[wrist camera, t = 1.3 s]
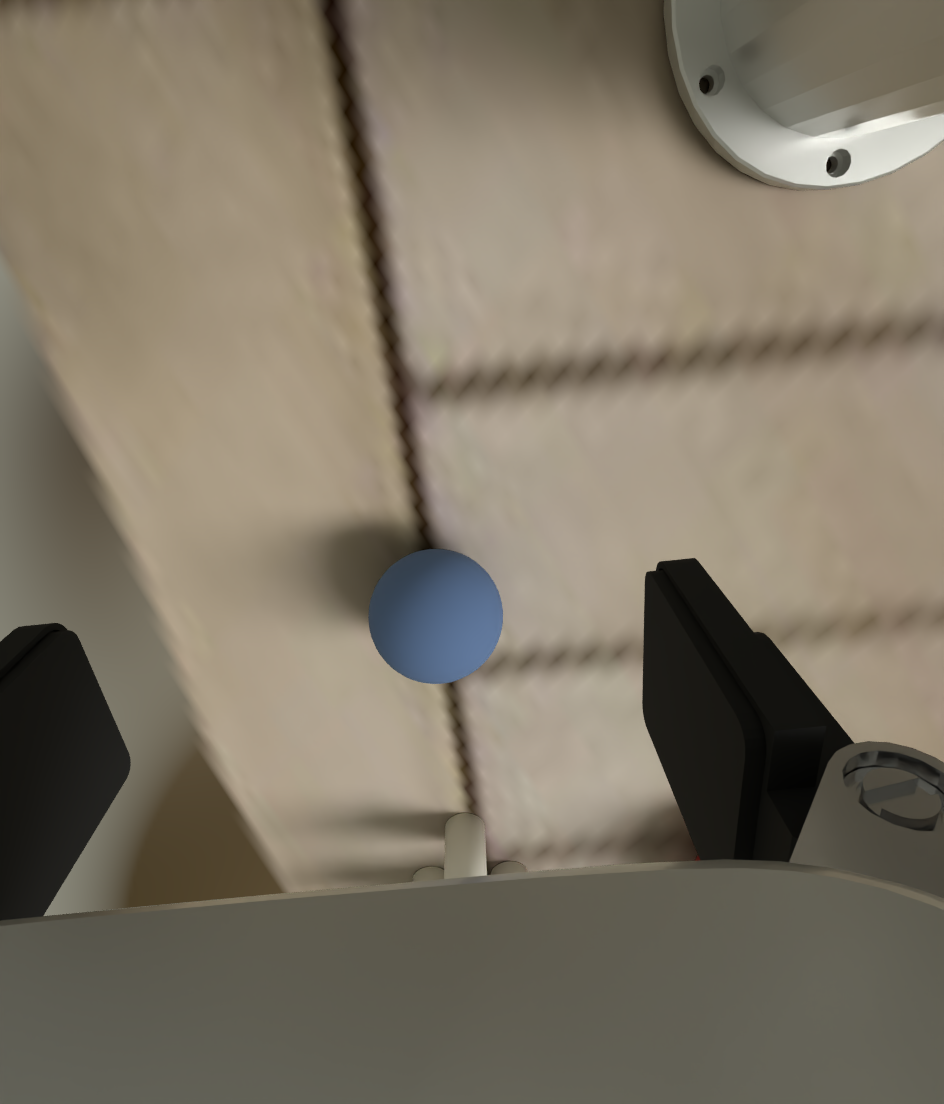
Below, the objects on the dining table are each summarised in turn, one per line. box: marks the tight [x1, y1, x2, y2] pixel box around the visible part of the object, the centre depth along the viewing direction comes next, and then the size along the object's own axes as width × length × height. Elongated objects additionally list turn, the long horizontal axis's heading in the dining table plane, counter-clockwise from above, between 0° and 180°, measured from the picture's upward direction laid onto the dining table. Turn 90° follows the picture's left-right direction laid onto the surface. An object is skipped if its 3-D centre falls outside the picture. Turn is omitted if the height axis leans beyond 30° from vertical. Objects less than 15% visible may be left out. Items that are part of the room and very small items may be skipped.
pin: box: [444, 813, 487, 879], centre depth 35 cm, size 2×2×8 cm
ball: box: [368, 549, 503, 684], centre depth 29 cm, size 6×6×6 cm
